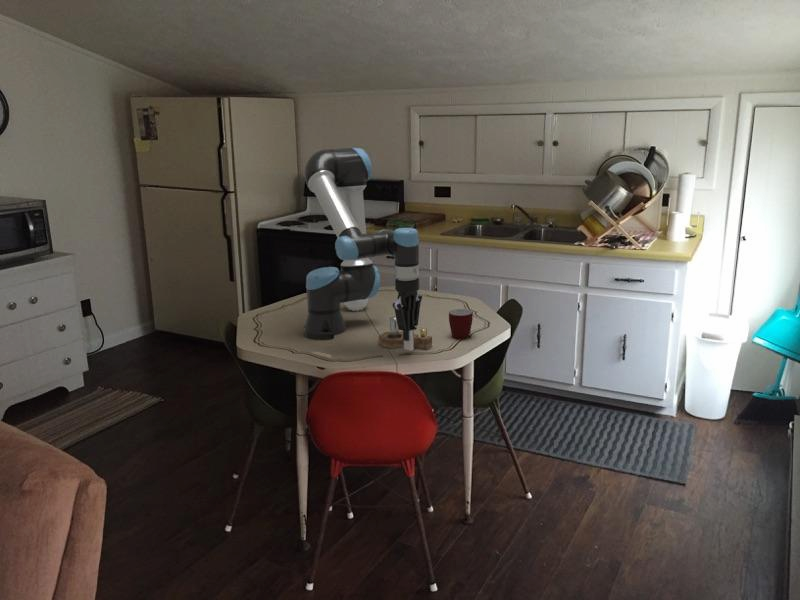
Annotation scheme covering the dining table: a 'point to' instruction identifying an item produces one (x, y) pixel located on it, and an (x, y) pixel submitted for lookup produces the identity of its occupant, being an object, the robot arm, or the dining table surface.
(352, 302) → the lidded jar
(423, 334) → the dowel
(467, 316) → the mug
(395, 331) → the post
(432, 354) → the dining table surface
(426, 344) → the flange lever
